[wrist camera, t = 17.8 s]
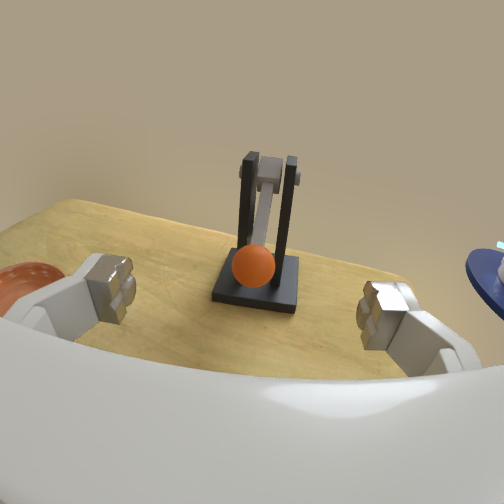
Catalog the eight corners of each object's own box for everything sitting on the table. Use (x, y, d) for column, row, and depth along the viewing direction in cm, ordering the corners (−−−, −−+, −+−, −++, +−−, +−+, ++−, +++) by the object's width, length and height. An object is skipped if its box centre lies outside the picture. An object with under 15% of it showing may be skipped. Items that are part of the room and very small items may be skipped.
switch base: (294, 314, 31) (320, 176, 23) (211, 301, 32) (213, 164, 24) (297, 264, 39) (314, 154, 32) (231, 254, 40) (237, 145, 33)
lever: (271, 296, 25) (272, 281, 22) (229, 290, 26) (225, 274, 22) (287, 178, 31) (290, 155, 28) (254, 174, 31) (254, 150, 28)
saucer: (99, 333, 26) (91, 311, 24) (-23, 398, 15) (-40, 378, 13) (55, 266, 34) (50, 247, 33) (-35, 309, 23) (-44, 290, 22)
